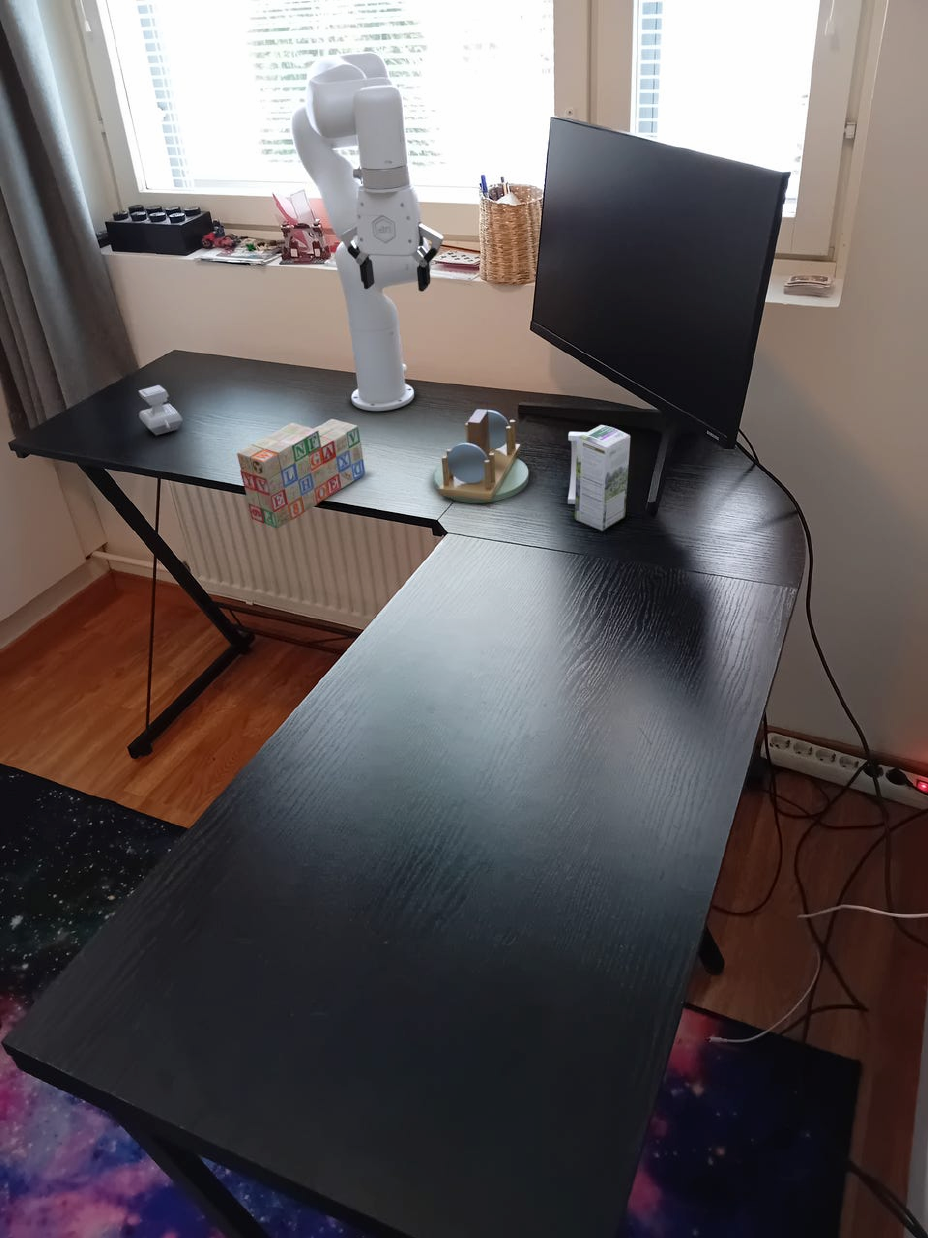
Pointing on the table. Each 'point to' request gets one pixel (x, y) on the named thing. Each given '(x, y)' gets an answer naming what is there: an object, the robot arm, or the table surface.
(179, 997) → the table surface
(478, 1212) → the table surface
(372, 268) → the robot arm
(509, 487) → the turntable
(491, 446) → the plate rack
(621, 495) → the syrup box
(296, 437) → the stack of blocks
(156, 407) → the stamp
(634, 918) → the table surface
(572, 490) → the white curved piece
